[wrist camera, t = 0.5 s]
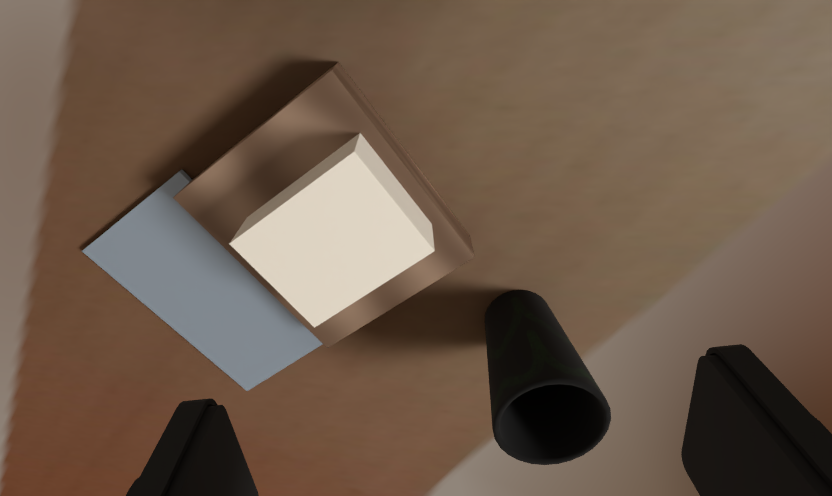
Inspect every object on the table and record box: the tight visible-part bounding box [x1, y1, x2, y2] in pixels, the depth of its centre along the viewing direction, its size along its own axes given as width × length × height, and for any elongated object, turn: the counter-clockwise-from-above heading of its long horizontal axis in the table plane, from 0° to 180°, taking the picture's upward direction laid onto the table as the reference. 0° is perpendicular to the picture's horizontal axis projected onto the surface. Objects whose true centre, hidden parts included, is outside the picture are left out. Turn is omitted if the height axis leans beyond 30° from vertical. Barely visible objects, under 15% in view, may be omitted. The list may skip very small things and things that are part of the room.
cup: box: [485, 290, 611, 465], centre depth 38 cm, size 8×8×12 cm
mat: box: [82, 169, 322, 391], centre depth 42 cm, size 11×18×1 cm, turn 36°
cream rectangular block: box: [229, 133, 435, 328], centre depth 34 cm, size 10×8×4 cm
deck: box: [173, 62, 475, 348], centre depth 37 cm, size 14×16×4 cm
